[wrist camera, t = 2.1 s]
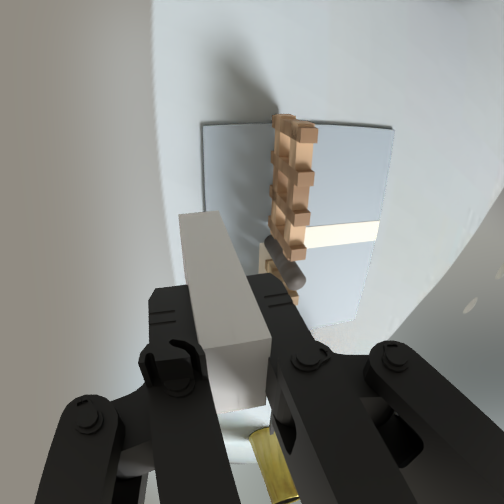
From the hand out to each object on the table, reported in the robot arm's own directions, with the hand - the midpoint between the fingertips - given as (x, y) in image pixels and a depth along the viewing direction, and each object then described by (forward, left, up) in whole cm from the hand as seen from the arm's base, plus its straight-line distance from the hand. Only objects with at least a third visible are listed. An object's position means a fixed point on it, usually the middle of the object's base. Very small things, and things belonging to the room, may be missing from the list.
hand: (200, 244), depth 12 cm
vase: (+28, +41, -15) cm, 52 cm away
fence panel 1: (-4, +7, -14) cm, 16 cm away
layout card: (-1, +15, -15) cm, 21 cm away
